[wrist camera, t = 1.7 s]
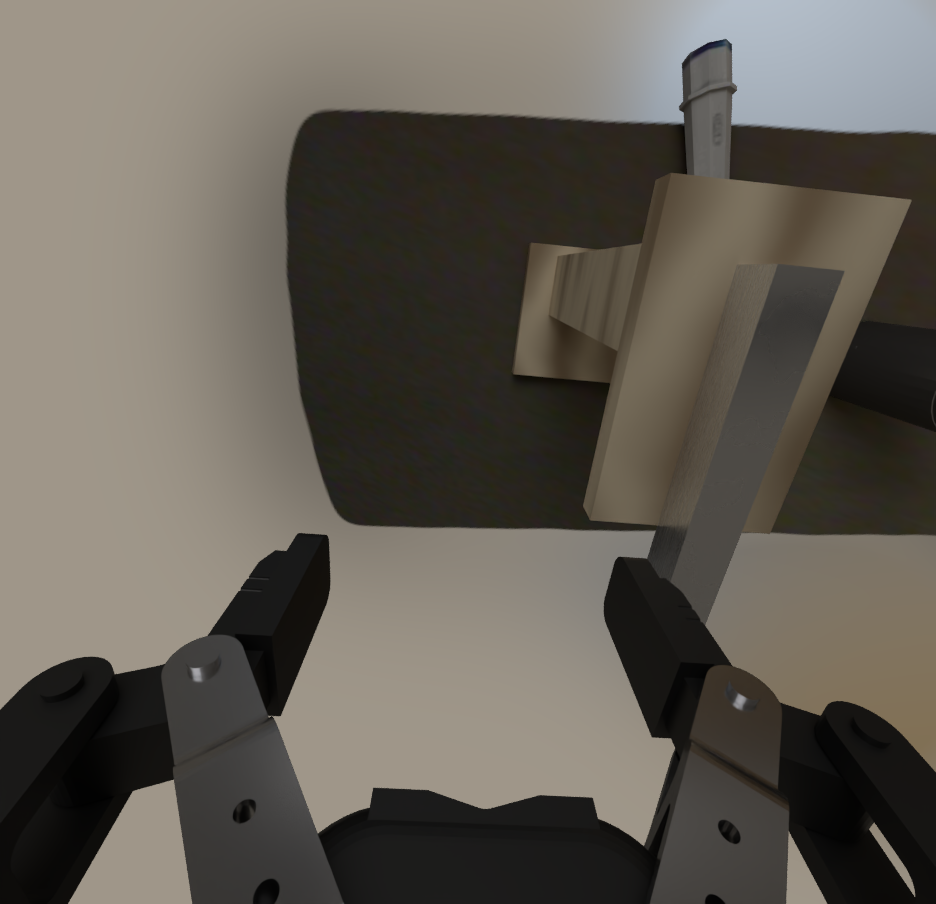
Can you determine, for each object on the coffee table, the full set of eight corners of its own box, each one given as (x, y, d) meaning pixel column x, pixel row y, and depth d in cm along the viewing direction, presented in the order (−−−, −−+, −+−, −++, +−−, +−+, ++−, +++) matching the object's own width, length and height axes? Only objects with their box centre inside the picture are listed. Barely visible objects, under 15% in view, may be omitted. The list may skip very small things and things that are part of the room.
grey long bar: (795, 270, 19) (845, 271, 16) (660, 651, 27) (679, 688, 25) (737, 264, 18) (777, 263, 16) (619, 649, 27) (635, 686, 25)
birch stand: (639, 244, 47) (935, 202, 18) (607, 388, 53) (787, 534, 24) (530, 233, 47) (646, 170, 17) (510, 379, 53) (571, 518, 23)
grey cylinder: (750, 32, 37) (750, 329, 44) (709, 76, 44) (715, 330, 50) (688, 44, 38) (697, 338, 44) (657, 87, 44) (669, 337, 50)
